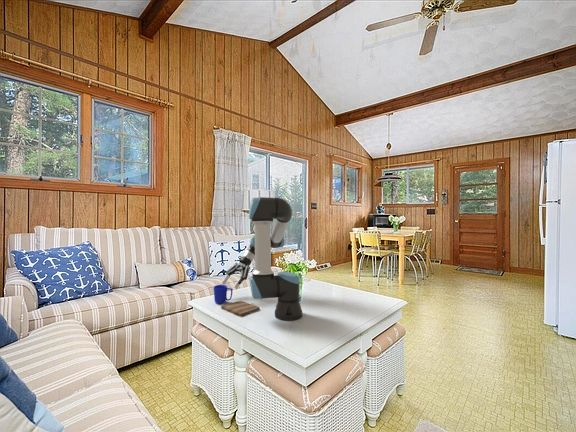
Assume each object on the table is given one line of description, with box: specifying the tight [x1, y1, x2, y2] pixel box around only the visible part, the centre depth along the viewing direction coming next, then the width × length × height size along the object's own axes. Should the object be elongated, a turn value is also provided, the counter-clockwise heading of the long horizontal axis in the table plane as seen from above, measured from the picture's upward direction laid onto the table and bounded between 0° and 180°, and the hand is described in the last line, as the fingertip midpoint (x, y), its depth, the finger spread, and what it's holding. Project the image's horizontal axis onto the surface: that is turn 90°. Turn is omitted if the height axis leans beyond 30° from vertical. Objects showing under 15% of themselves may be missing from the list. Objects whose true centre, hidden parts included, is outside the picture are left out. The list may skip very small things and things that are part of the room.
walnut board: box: [220, 300, 260, 317], centre depth 162 cm, size 18×14×2 cm
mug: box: [213, 284, 233, 305], centre depth 173 cm, size 8×12×10 cm
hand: (228, 285), depth 178 cm, fingers open, 13 cm apart
